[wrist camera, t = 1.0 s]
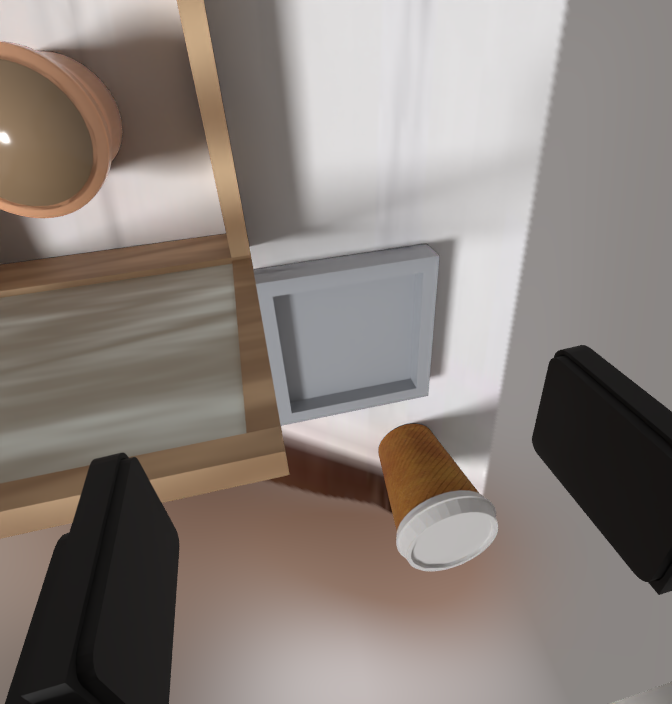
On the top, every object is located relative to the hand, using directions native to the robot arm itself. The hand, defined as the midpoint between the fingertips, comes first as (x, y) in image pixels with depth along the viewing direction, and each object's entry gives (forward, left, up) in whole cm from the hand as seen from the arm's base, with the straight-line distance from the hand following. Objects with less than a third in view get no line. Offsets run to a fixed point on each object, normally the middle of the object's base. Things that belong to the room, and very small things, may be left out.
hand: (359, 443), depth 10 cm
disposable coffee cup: (+29, +11, -25) cm, 40 cm away
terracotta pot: (-5, -11, -25) cm, 27 cm away
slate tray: (+13, +5, -25) cm, 28 cm away
